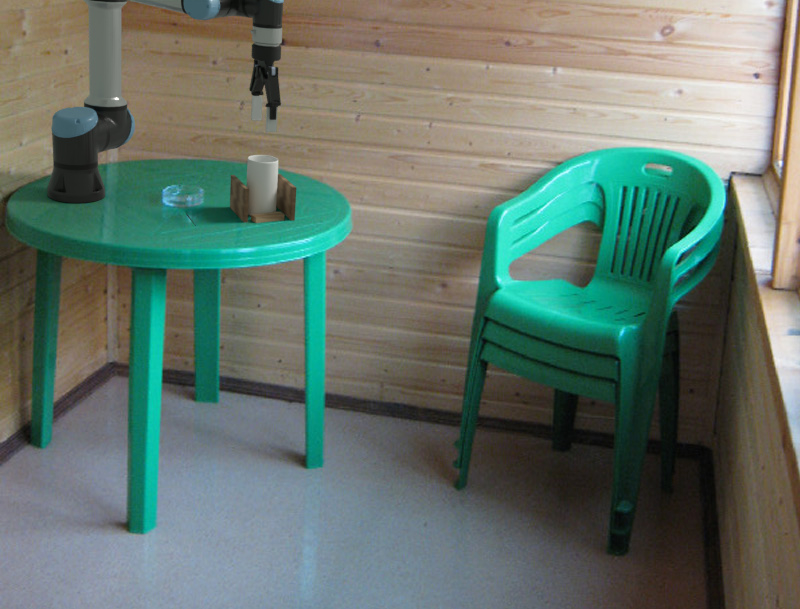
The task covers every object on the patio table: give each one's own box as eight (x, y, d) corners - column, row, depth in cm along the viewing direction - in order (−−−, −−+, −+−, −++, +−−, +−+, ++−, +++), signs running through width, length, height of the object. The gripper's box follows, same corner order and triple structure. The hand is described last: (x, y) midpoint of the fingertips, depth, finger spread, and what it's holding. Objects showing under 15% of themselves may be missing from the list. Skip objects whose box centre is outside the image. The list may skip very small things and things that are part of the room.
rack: (229, 210, 290) (230, 175, 286) (278, 208, 295) (280, 173, 292) (243, 225, 278) (245, 189, 274) (294, 223, 283) (296, 187, 280)
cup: (242, 212, 289) (244, 154, 283) (271, 211, 292) (273, 154, 287) (250, 221, 282) (252, 162, 276) (279, 220, 285) (282, 162, 280)
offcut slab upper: (250, 220, 280) (251, 214, 279) (279, 216, 285) (279, 211, 284) (256, 223, 278) (256, 217, 277) (284, 219, 283) (284, 214, 282)
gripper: (239, 36, 279) (237, 115, 287) (266, 51, 258) (263, 136, 266) (266, 36, 282) (263, 115, 290) (295, 51, 261) (291, 136, 269)
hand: (263, 126), depth 278 cm, fingers open, 13 cm apart
